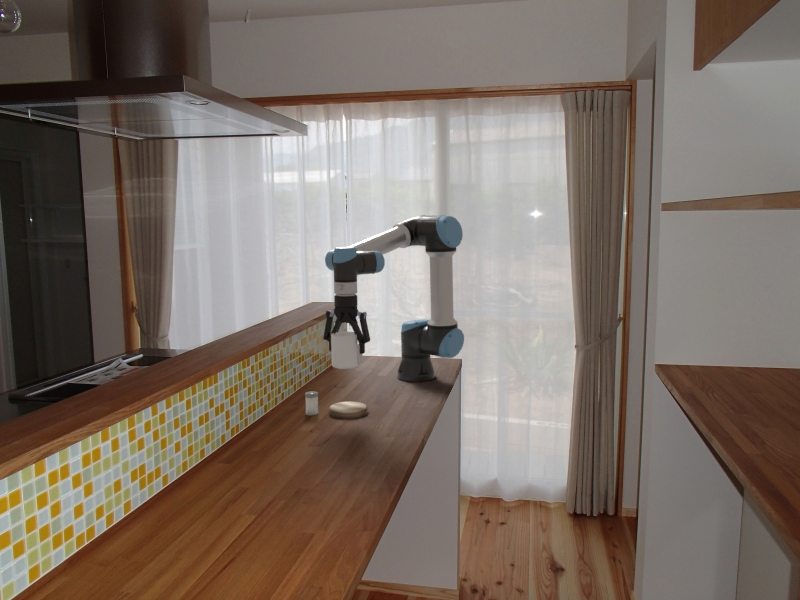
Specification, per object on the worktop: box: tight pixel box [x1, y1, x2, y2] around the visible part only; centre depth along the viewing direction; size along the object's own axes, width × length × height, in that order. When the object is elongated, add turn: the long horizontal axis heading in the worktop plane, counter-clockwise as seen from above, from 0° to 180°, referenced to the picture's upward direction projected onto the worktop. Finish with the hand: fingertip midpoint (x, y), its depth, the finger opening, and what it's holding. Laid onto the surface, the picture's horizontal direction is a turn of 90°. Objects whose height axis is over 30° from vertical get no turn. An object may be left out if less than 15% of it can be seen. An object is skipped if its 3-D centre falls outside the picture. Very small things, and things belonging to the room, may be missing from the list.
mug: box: [330, 331, 359, 370], centre depth 216 cm, size 9×12×11 cm
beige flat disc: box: [328, 400, 369, 420], centre depth 219 cm, size 13×13×2 cm
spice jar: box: [304, 390, 319, 416], centre depth 218 cm, size 4×4×7 cm
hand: (347, 362), depth 217 cm, fingers closed on mug, 9 cm apart
